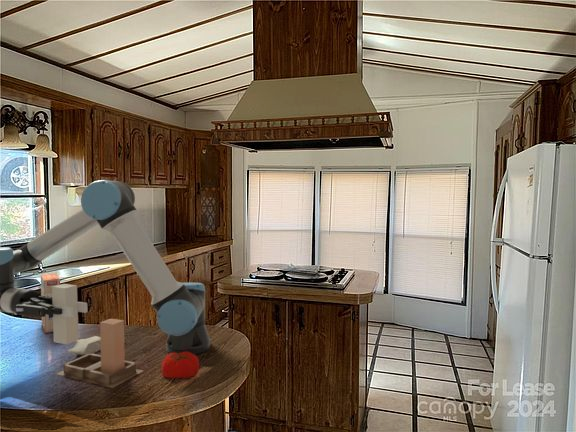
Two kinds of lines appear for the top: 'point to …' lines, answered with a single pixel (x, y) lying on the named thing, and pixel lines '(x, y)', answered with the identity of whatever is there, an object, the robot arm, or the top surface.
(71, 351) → the rock
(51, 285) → the cracker box
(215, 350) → the top surface
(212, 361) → the top surface
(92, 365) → the rack
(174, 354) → the tomato
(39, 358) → the top surface
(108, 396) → the top surface
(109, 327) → the salmon orange block
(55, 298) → the white rectangular block
